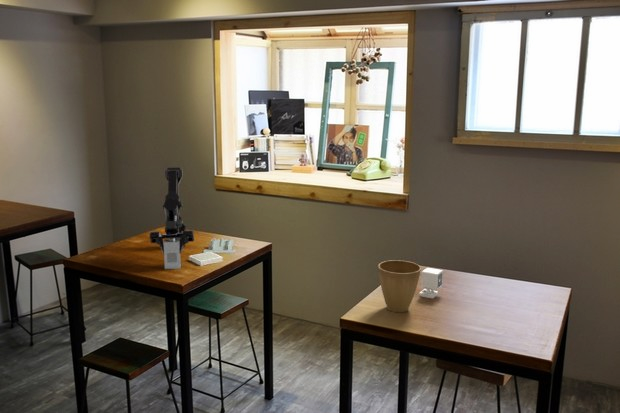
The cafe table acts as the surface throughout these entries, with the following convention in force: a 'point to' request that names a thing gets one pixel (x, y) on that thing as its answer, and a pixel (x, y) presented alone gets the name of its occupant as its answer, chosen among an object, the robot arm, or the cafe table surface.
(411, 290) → the plant pot
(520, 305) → the cafe table surface
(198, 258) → the plinth
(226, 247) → the metal bracket
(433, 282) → the security camera
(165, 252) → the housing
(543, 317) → the cafe table surface
